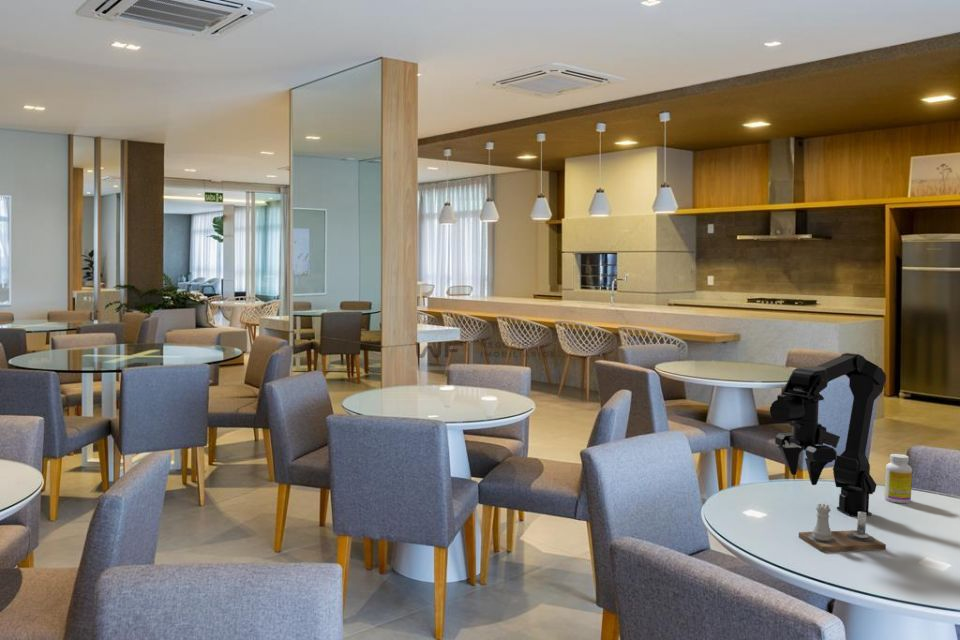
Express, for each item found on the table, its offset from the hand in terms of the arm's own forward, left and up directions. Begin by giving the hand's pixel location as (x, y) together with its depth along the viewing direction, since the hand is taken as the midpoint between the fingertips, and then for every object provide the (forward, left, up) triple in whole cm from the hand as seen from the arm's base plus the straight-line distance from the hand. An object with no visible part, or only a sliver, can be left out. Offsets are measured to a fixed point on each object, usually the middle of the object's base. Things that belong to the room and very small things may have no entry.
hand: (803, 479), depth 202 cm
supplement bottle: (-39, -18, -12) cm, 44 cm away
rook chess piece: (+3, +13, -11) cm, 17 cm away
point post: (-7, +13, -11) cm, 18 cm away
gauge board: (-2, +13, -12) cm, 18 cm away
